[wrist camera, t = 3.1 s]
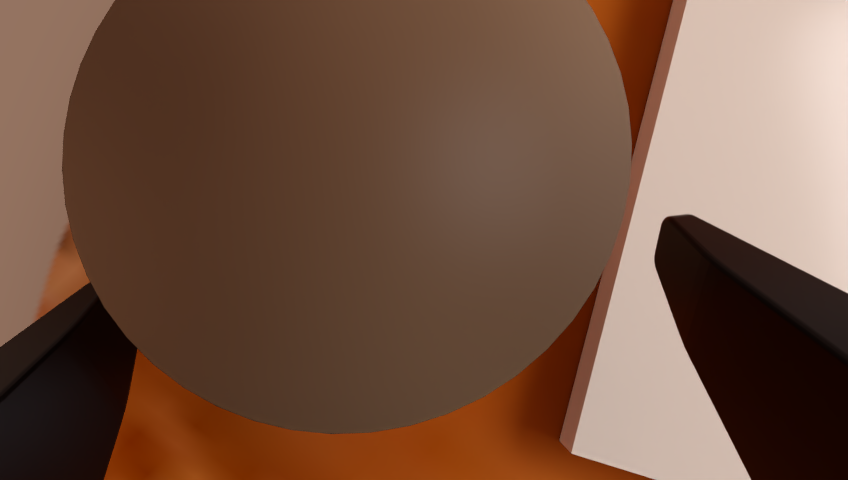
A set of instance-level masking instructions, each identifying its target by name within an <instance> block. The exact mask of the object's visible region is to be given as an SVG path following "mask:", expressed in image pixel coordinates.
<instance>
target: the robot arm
mask: <svg viewBox="0 0 848 480" xmlns="http://www.w3.org/2000/svg"><path fill="white" fill-rule="evenodd" d="M654 263H655V268H656V271H657V274H658V277H659V279H660V282H661V285H662V288H663V290H664V293H665V296H666V299H667V301H668V304H669V307H670V310H671V313H672V315H673V318H674V321H675V324H676V326H677V329H678V332H679V335H680V337H681V340H682V342H683V345H684V347H685V349H686V351H687V353H688V355H689V358H690V360H691V362H692V364H693V366H694V368H695V370H696V372H697V374H698V376H699V378H700V380H701V382H702V383H703V385H704V387H705V389H706V391H707V393H708V395H709V397H710V399H711V401H712V403H713V405H714V407H715V409H716V411H717V413H718V415H719V417H720V419H721V421H722V423H723V425H724V427H725V429H726V431H727V433H728V435H729V437H730V439H731V441H732V443H733V445H734V447H735V449H736V451H737V453H738V455H739V457H740V459H741V461H742V463H743V465H744V467H745V469H746V471H747V473H748V475H749V477H750V479H751V480H848V293H846V292H844V291H842V290H840V289H838V288H837V287H835V286H833V285H831V284H829V283H827V282H825V281H823V280H821V279H819V278H817V277H815V276H813V275H811V274H809V273H807V272H805V271H803V270H801V269H799V268H797V267H795V266H793V265H791V264H789V263H787V262H785V261H783V260H781V259H779V258H777V257H775V256H773V255H771V254H769V253H767V252H765V251H763V250H761V249H759V248H757V247H755V246H754V245H752V244H750V243H748V242H746V241H744V240H742V239H740V238H738V237H736V236H734V235H732V234H730V233H728V232H726V231H724V230H722V229H720V228H718V227H716V226H714V225H712V224H710V223H708V222H706V221H704V220H702V219H700V218H698V217H696V216H694V215H692V214H683V215H674V216H668V217H666V218H665V219H664V220H663V221H662V224H661V227H660V232H659V236H658V241H657V245H656V250H655V255H654ZM136 354H137V347H136V346H135V345H134V344H133V343H132V342H131V341H130V340H129V339H128V338H127V337H126V336H125V334H124V333H123V332H122V330H121V329H120V328H119V326H118V325H117V324H116V322H115V321H114V320H113V318H112V317H111V316H110V314H109V313H108V312H107V310H106V309H105V308H104V306H103V304H102V302H101V300H100V298H99V297H98V295H97V293H96V291H95V289H94V287H93V286H92V284H91V282H90V283H88V284H87V285H85V286H84V287H82V288H81V289H80V290H78V291H77V292H76V293H74V294H73V295H71V296H70V297H69V298H67V299H66V300H65V301H63V302H62V303H60V304H59V305H58V306H56V307H55V308H54V309H52V310H51V311H49V312H48V313H47V314H45V315H44V316H42V317H41V318H40V319H38V320H37V321H36V322H34V323H33V324H31V325H30V326H29V327H27V328H26V329H25V330H24V331H22V332H20V333H19V334H18V335H16V336H15V337H14V338H12V339H11V340H10V341H8V342H7V343H5V344H4V345H3V346H1V347H0V480H104V477H105V474H106V471H107V467H108V464H109V461H110V458H111V455H112V451H113V448H114V445H115V442H116V439H117V435H118V432H119V429H120V426H121V423H122V419H123V415H124V412H125V408H126V404H127V400H128V395H129V390H130V385H131V380H132V374H133V369H134V364H135V359H136Z"/></svg>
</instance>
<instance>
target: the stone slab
mask: <svg viewBox="0 0 848 480" xmlns="http://www.w3.org/2000/svg"><path fill="white" fill-rule="evenodd" d="M683 214H692V215H694V216H696V217H698V218H700V219H702V220H704V221H706V222H708V223H710V224H712V225H714V226H716V227H718V228H720V229H722V230H724V231H726V232H728V233H730V234H732V235H734V236H736V237H738V238H740V239H742V240H744V241H746V242H748V243H750V244H752V245H754V246H755V247H757V248H759V249H761V250H763V251H765V252H767V253H769V254H771V255H773V256H775V257H777V258H779V259H781V260H783V261H785V262H787V263H789V264H791V265H793V266H795V267H797V268H799V269H801V270H803V271H805V272H807V273H809V274H811V275H813V276H815V277H817V278H819V279H821V280H823V281H825V282H827V283H829V284H831V285H833V286H835V287H837V288H838V289H840V290H842V291H844V292H846V293H848V0H673V3H672V7H671V11H670V15H669V18H668V22H667V26H666V30H665V34H664V38H663V42H662V45H661V49H660V53H659V57H658V61H657V65H656V69H655V72H654V76H653V80H652V84H651V88H650V92H649V96H648V100H647V103H646V107H645V111H644V115H643V119H642V123H641V127H640V130H639V134H638V138H637V142H636V146H635V150H634V154H633V157H632V161H631V175H630V185H629V190H628V196H627V201H626V206H625V212H624V217H623V220H622V224H621V227H620V230H619V233H618V236H617V239H616V242H615V245H614V248H613V251H612V254H611V256H610V258H609V260H608V262H607V264H606V266H605V268H604V270H603V273H602V277H601V281H600V285H599V289H598V293H597V296H596V300H595V304H594V308H593V312H592V316H591V320H590V324H589V327H588V331H587V335H586V339H585V343H584V347H583V351H582V354H581V358H580V362H579V366H578V370H577V374H576V378H575V381H574V385H573V389H572V393H571V397H570V401H569V405H568V409H567V412H566V416H565V420H564V424H563V428H562V432H561V436H560V439H559V441H560V442H561V443H562V444H563V445H564V446H565V447H566V449H567V450H568V451H569V452H570V453H571V454H574V455H577V456H581V457H584V458H587V459H590V460H594V461H597V462H600V463H603V464H607V465H610V466H613V467H616V468H619V469H623V470H626V471H629V472H632V473H636V474H639V475H642V476H645V477H648V478H652V479H655V480H751V479H750V477H749V475H748V473H747V471H746V469H745V467H744V465H743V463H742V461H741V459H740V457H739V455H738V453H737V451H736V449H735V447H734V445H733V443H732V441H731V439H730V437H729V435H728V433H727V431H726V429H725V427H724V425H723V423H722V421H721V419H720V417H719V415H718V413H717V411H716V409H715V407H714V405H713V403H712V401H711V399H710V397H709V395H708V393H707V391H706V389H705V387H704V385H703V383H702V382H701V380H700V378H699V376H698V374H697V372H696V370H695V368H694V366H693V364H692V362H691V360H690V358H689V355H688V353H687V351H686V349H685V347H684V345H683V342H682V340H681V337H680V335H679V332H678V329H677V326H676V324H675V321H674V318H673V315H672V313H671V310H670V307H669V304H668V301H667V299H666V296H665V293H664V290H663V288H662V285H661V282H660V279H659V277H658V274H657V271H656V268H655V263H654V255H655V250H656V245H657V241H658V236H659V232H660V227H661V224H662V221H663V220H664V219H665V218H666V217H668V216H674V215H683Z"/></svg>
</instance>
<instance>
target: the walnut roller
mask: <svg viewBox="0 0 848 480" xmlns="http://www.w3.org/2000/svg"><path fill="white" fill-rule="evenodd" d="M631 154H632V139H631V128H630V116H629V107H628V102H627V98H626V94H625V89H624V85H623V80H622V76H621V72H620V69H619V67H618V64H617V61H616V59H615V56H614V53H613V51H612V48H611V45H610V43H609V40H608V38H607V36H606V34H605V32H604V30H603V29H602V27H601V25H600V23H599V21H598V19H597V17H596V15H595V14H594V12H593V10H592V8H591V7H590V5H589V4H588V2H587V1H586V0H115V1H114V3H113V4H112V6H111V8H110V9H109V11H108V12H107V14H106V16H105V17H104V19H103V20H102V22H101V24H100V25H99V27H98V28H97V30H96V32H95V34H94V36H93V38H92V41H91V43H90V45H89V47H88V49H87V51H86V54H85V56H84V58H83V60H82V62H81V64H80V68H79V71H78V74H77V77H76V80H75V83H74V87H73V90H72V93H71V96H70V101H69V106H68V112H67V118H66V123H65V130H64V140H63V162H62V172H63V184H64V194H65V205H66V210H67V214H68V218H69V223H70V227H71V231H72V236H73V240H74V243H75V246H76V248H77V251H78V254H79V256H80V259H81V261H82V264H83V267H84V269H85V272H86V275H87V276H88V278H89V280H90V282H91V284H92V286H93V287H94V289H95V291H96V293H97V295H98V297H99V298H100V300H101V302H102V304H103V306H104V308H105V309H106V310H107V312H108V313H109V314H110V316H111V317H112V318H113V320H114V321H115V322H116V324H117V325H118V326H119V328H120V329H121V330H122V332H123V333H124V334H125V336H126V337H127V338H128V339H129V340H130V341H131V342H132V343H133V344H134V345H135V346H136V347H137V348H138V349H139V350H140V351H141V352H142V353H143V354H144V355H145V356H146V357H147V358H148V359H149V360H150V361H151V362H152V363H153V364H154V365H155V366H156V367H158V368H159V369H160V370H161V371H163V372H164V373H165V374H167V375H168V376H169V377H171V378H172V379H173V380H175V381H176V382H177V383H178V384H180V385H181V386H182V387H184V388H186V389H187V390H189V391H191V392H193V393H194V394H196V395H198V396H200V397H201V398H203V399H205V400H207V401H209V402H210V403H212V404H214V405H216V406H218V407H220V408H223V409H225V410H228V411H230V412H233V413H235V414H238V415H240V416H243V417H245V418H248V419H251V420H253V421H257V422H261V423H265V424H269V425H274V426H278V427H282V428H286V429H290V430H298V431H308V432H318V433H328V434H340V433H368V432H376V431H382V430H387V429H393V428H399V427H405V426H410V425H413V424H417V423H420V422H423V421H426V420H429V419H432V418H436V417H439V416H442V415H445V414H448V413H450V412H452V411H455V410H457V409H459V408H461V407H463V406H465V405H467V404H469V403H472V402H474V401H476V400H478V399H480V398H482V397H484V396H486V395H487V394H489V393H490V392H492V391H493V390H495V389H497V388H498V387H500V386H501V385H503V384H504V383H506V382H507V381H509V380H510V379H512V378H513V377H515V376H517V375H518V374H519V373H520V372H521V371H523V370H524V369H525V368H526V367H527V366H528V365H530V364H531V363H532V362H533V361H534V360H535V359H537V358H538V357H539V356H540V355H541V354H542V353H544V352H545V351H546V350H547V349H548V348H549V347H550V346H551V344H552V343H553V342H554V341H555V340H556V339H557V338H558V337H559V335H560V334H561V333H562V332H563V331H564V330H565V329H566V328H567V326H568V325H569V324H570V323H571V322H572V321H573V320H574V318H575V317H576V315H577V314H578V312H579V311H580V309H581V308H582V306H583V305H584V303H585V302H586V300H587V299H588V297H589V296H590V294H591V293H592V291H593V290H594V288H595V286H596V284H597V282H598V280H599V278H600V276H601V274H602V272H603V270H604V268H605V266H606V264H607V262H608V260H609V258H610V256H611V254H612V251H613V248H614V245H615V242H616V239H617V236H618V233H619V230H620V227H621V224H622V220H623V217H624V212H625V206H626V201H627V196H628V190H629V185H630V175H631Z"/></svg>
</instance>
